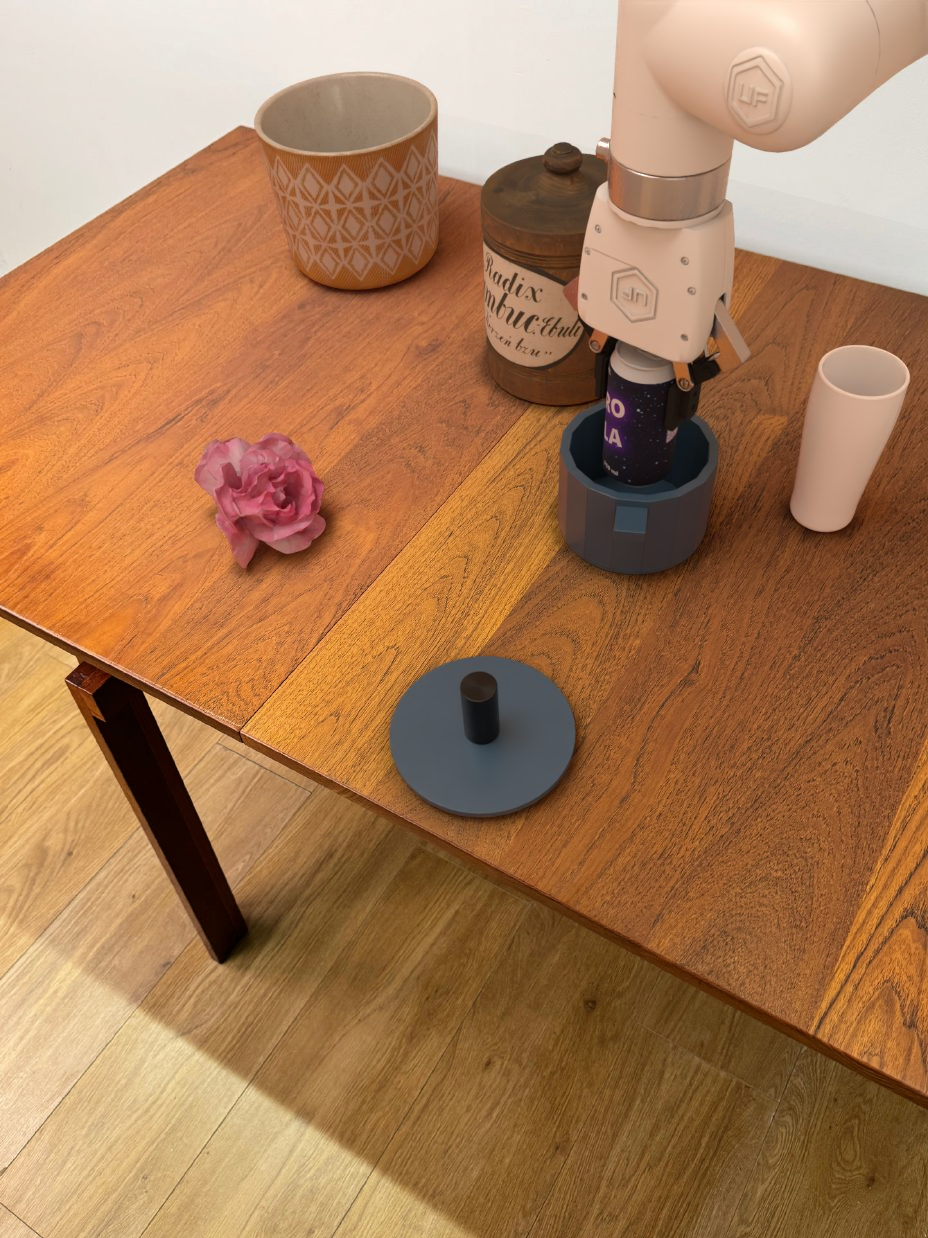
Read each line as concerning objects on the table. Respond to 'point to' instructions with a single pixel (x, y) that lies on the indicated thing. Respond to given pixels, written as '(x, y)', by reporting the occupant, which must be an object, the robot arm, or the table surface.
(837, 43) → the robot arm
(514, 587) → the table surface
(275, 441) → the flower
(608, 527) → the pot
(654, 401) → the beverage can
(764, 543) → the table surface
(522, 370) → the wooden container
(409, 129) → the planter
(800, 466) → the drinking glass
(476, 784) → the pot lid
